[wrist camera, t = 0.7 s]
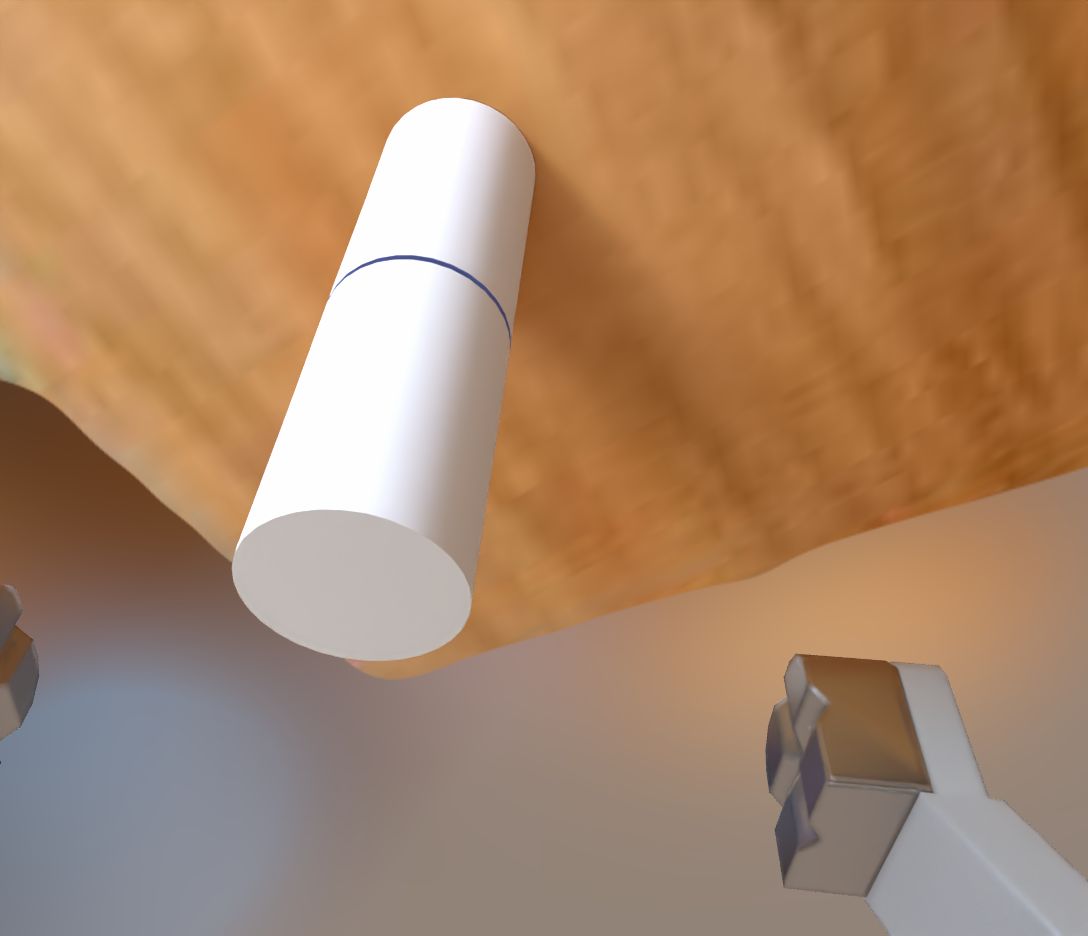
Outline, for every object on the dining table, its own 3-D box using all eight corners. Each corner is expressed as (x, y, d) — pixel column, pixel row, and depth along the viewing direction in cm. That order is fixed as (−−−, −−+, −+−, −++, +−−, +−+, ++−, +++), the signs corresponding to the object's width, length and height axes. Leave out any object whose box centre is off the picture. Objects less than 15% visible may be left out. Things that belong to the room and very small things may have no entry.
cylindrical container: (523, 89, 46) (444, 503, 28) (545, 230, 51) (491, 658, 33) (366, 106, 47) (195, 514, 29) (403, 243, 52) (276, 663, 34)
